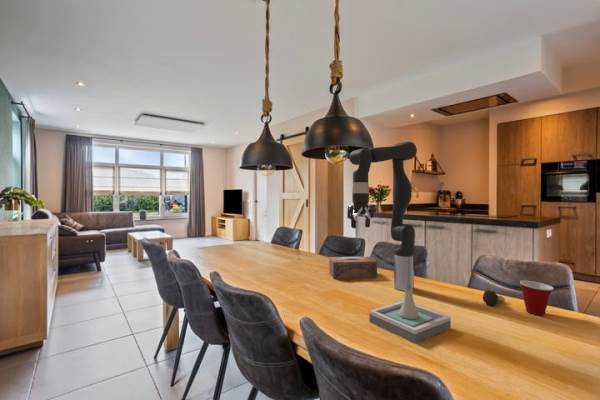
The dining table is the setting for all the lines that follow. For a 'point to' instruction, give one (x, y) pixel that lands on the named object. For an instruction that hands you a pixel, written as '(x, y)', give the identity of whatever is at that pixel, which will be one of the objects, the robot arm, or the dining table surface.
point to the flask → (408, 306)
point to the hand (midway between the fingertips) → (360, 227)
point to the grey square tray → (410, 322)
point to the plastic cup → (535, 296)
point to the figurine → (492, 297)
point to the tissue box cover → (352, 267)
